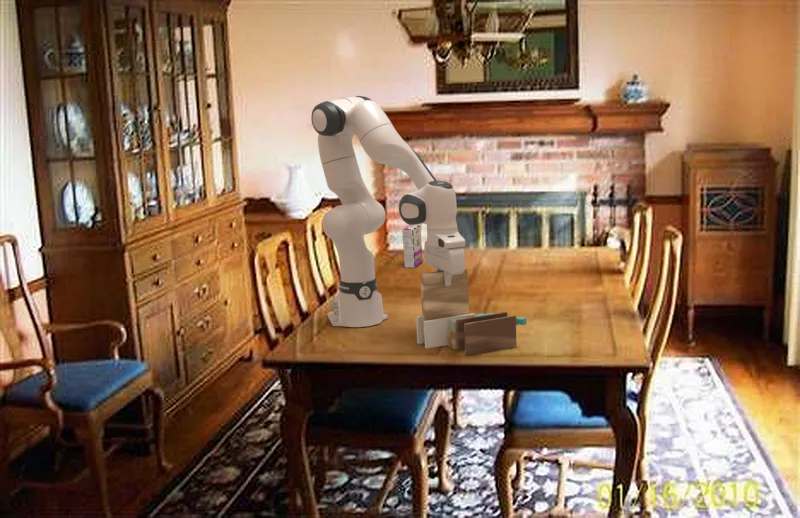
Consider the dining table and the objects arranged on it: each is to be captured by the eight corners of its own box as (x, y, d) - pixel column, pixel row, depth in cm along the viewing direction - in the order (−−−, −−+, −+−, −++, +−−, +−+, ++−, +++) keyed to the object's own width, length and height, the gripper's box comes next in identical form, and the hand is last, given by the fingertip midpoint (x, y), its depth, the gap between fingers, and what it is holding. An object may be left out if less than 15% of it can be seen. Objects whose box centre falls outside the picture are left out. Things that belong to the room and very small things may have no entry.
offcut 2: (450, 329, 266) (449, 319, 265) (466, 327, 267) (466, 317, 266) (454, 332, 262) (453, 322, 261) (470, 330, 263) (470, 320, 263)
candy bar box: (411, 262, 389) (409, 224, 385) (422, 262, 387) (421, 224, 384) (403, 268, 378) (401, 228, 375) (415, 268, 377) (413, 228, 373)
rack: (457, 350, 262) (456, 319, 260) (506, 341, 268) (505, 311, 266) (466, 355, 257) (465, 324, 255) (516, 346, 263) (515, 316, 261)
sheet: (423, 333, 269) (420, 273, 265) (465, 326, 274) (463, 267, 270) (426, 335, 266) (423, 275, 263) (469, 328, 272) (467, 269, 268)
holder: (417, 343, 271) (416, 317, 269) (465, 335, 277) (464, 309, 275) (426, 348, 265) (425, 321, 263) (475, 340, 271) (474, 314, 269)
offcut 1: (448, 346, 266) (448, 329, 265) (467, 343, 268) (466, 327, 267) (454, 350, 263) (454, 333, 262) (473, 346, 265) (472, 330, 264)
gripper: (417, 233, 273) (419, 279, 276) (447, 243, 254) (449, 292, 257) (437, 231, 275) (438, 276, 278) (468, 241, 257) (469, 289, 259)
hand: (444, 284), depth 267 cm, fingers closed on sheet, 2 cm apart
